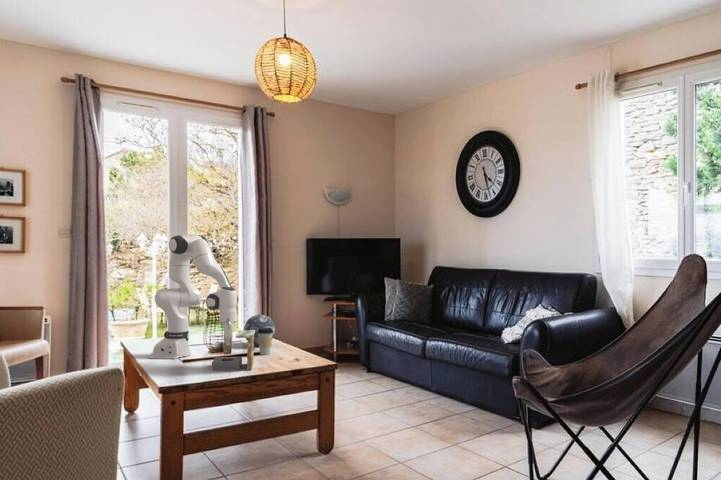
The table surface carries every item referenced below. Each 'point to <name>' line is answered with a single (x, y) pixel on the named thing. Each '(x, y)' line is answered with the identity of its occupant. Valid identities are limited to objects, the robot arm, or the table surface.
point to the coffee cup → (265, 340)
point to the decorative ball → (259, 325)
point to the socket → (227, 363)
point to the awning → (250, 349)
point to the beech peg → (227, 346)
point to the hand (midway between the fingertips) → (227, 344)
